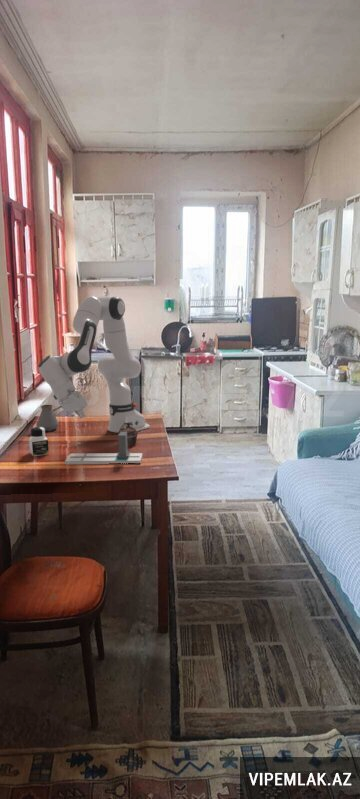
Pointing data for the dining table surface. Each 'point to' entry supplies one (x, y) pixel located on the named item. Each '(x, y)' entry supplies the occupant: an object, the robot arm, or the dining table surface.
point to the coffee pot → (48, 418)
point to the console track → (102, 458)
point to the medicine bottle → (38, 442)
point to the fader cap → (123, 446)
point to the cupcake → (129, 432)
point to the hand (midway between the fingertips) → (82, 417)
